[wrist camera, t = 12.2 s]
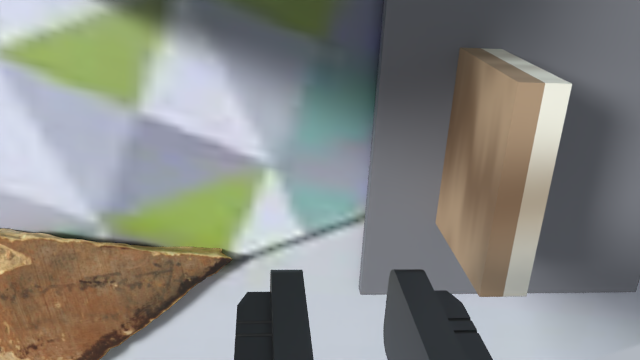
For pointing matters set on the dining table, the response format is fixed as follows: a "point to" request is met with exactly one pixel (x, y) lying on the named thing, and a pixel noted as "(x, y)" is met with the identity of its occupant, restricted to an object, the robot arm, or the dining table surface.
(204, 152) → the dining table surface
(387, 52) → the mat
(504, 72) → the slab
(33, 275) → the shard
